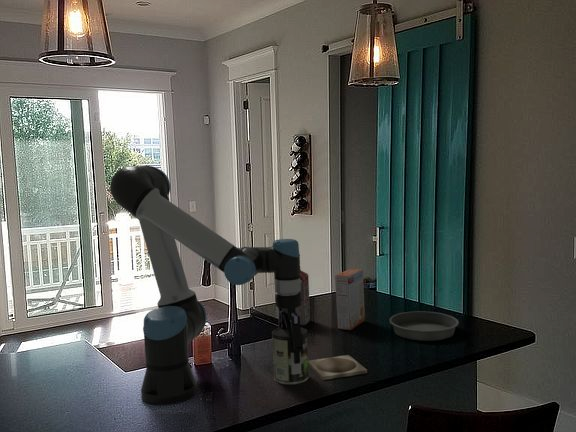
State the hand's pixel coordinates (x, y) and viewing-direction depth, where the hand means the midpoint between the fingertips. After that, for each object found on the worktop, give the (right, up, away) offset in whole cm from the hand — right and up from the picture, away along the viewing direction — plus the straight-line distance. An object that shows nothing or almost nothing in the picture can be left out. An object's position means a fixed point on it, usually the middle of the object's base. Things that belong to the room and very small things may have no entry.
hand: (290, 367), depth 161 cm
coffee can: (0, -3, 0) cm, 3 cm away
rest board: (+14, -2, +6) cm, 15 cm away
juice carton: (+4, +2, +58) cm, 58 cm away
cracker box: (+24, +2, +51) cm, 56 cm away
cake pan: (+49, +2, +40) cm, 63 cm away
